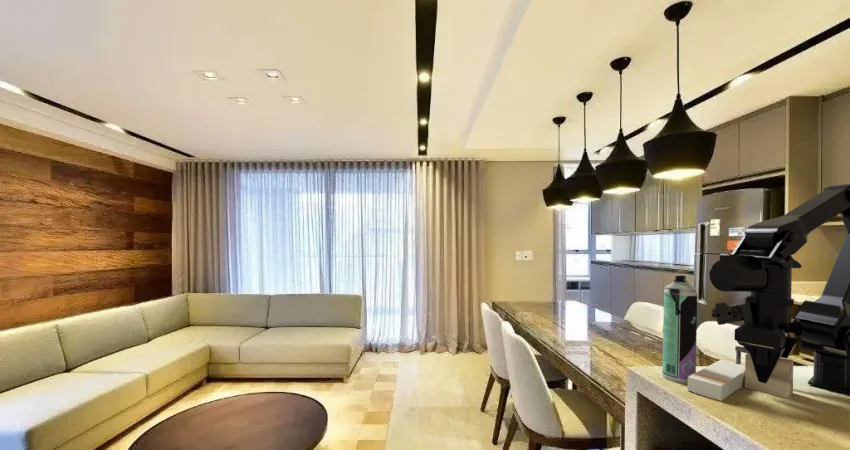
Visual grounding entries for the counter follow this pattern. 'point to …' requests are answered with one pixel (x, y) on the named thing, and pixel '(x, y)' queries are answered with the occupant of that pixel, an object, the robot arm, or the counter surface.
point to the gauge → (778, 380)
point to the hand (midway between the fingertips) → (769, 377)
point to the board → (717, 380)
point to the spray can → (679, 330)
